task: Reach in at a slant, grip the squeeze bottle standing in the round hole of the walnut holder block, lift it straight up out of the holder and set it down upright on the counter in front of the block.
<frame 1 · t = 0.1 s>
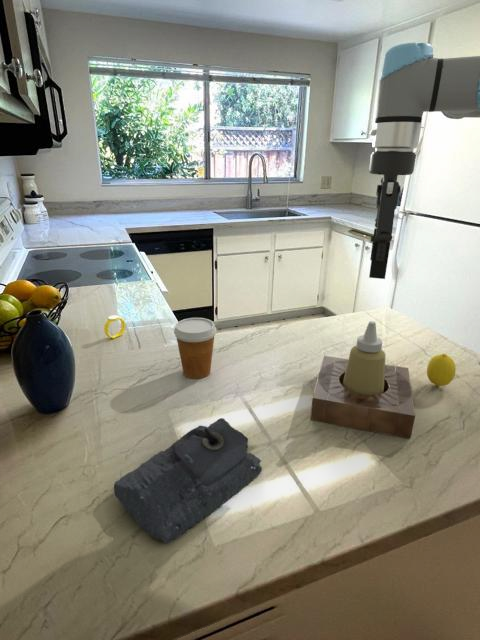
hand: (376, 268, 79), 27 cm above the countertop, tool pointing down, fingers open, 13 cm apart
squeeze bottle: (360, 403, 83), resting in holder
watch: (116, 337, 112), on the countertop
iron doorstop weight: (189, 479, 63), on the countertop
disposable coffee cup: (196, 372, 94), on the countertop
lemon: (437, 386, 89), on the countertop
holder: (360, 402, 83), on the countertop
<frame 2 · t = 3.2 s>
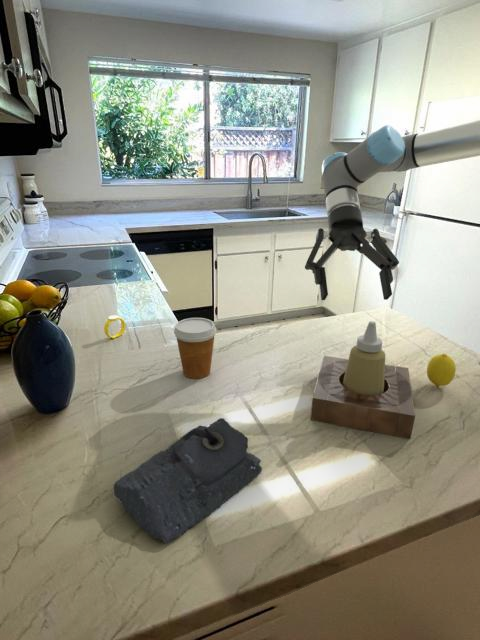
hand: (356, 297, 85), 19 cm above the countertop, tool tilted 45°, fingers open, 13 cm apart
nothing on the countertop moved.
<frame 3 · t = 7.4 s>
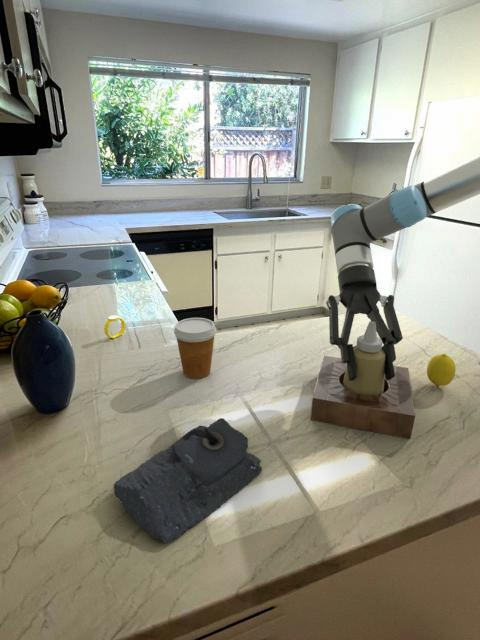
hand: (371, 378, 77), 8 cm above the countertop, tool tilted 45°, fingers closed on squeeze bottle, 6 cm apart
squeeze bottle: (360, 403, 83), resting in holder, touching gripper
everything else where it was.
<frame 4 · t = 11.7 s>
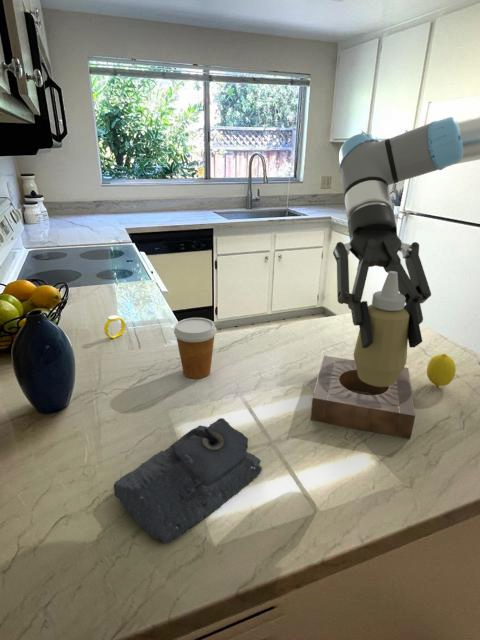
hand: (391, 344, 59), 21 cm above the countertop, tool tilted 45°, fingers closed on squeeze bottle, 6 cm apart
squeeze bottle: (375, 379, 66), point 13 cm above the countertop, touching gripper
everything else where it was.
when the fingers open (8 cm above the countertop, at t = 16.1 s): squeeze bottle stays where it is, on the countertop.
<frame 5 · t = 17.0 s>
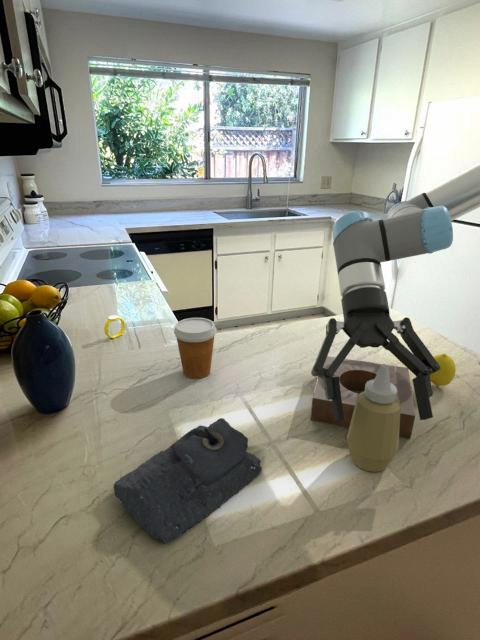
hand: (383, 419, 61), 10 cm above the countertop, tool tilted 45°, fingers open, 13 cm apart
squeeze bottle: (368, 461, 67), on the countertop
everything else where it was.
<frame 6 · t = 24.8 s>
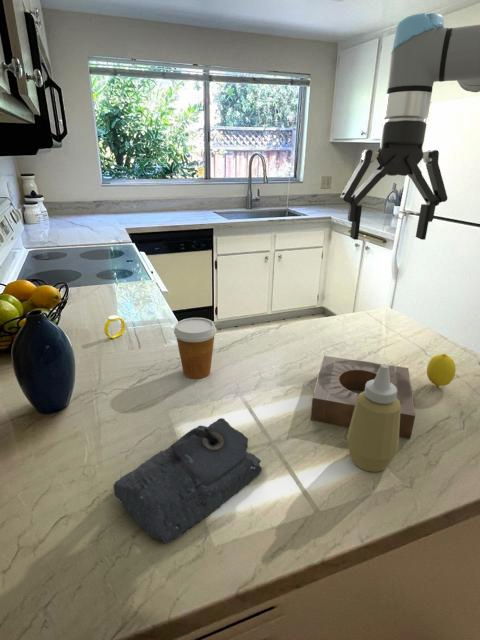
hand: (387, 238, 81), 32 cm above the countertop, tool pointing down, fingers open, 13 cm apart
nothing on the countertop moved.
at the end: squeeze bottle inside the target area (0.0 cm from its centre), on the countertop; squeeze bottle tilted 0°; the gripper is holding nothing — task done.
